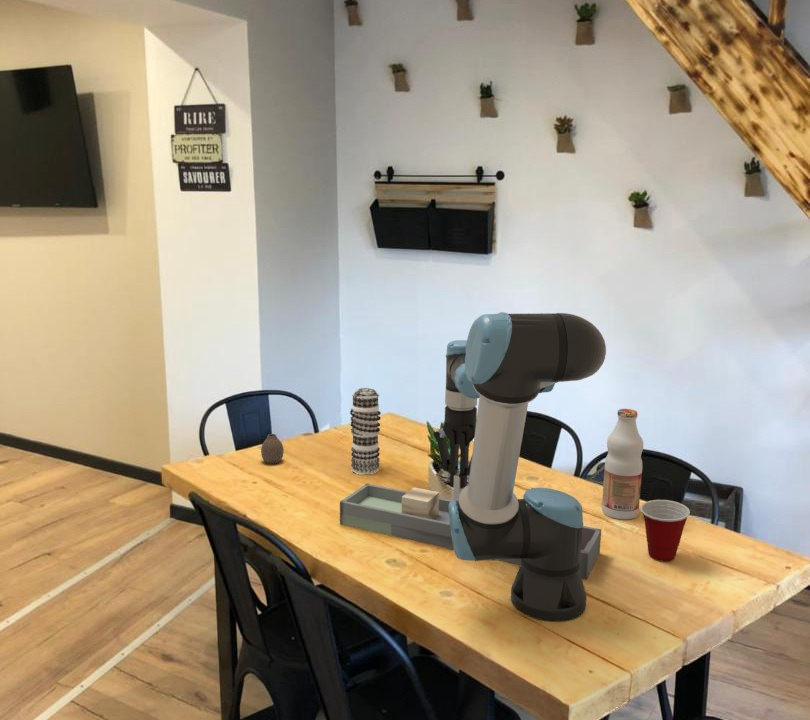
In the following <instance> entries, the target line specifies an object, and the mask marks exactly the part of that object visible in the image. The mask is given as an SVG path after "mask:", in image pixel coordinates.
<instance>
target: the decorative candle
mask: <svg viewBox="0 0 810 720" xmlns="http://www.w3.org/2000/svg"><path fill="white" fill-rule="evenodd" d="M351 396H352V405H351V406H352V407H351V408H350V412H349V414H350V415H351V417H350V426H351V429H350V430H351V431H350V432H351V435H352V444H351V445H352V447H351V449H350V451H352V452H351V454H350V455H351V459H350V462H351V465H350V466H351V472H352V471H353V472H355V473H358V474H357V475H360V474H371V475H373V474H372V473H375V472H377V471H379V472H380V449H381V448H380V447H379V445H380V444H379V441H378V440H379V435H380V432H381V428H380V426H381V423H380V422H379V421H380V420H381V416H380V415H381V414H382V413H381V411H380V410H379V407H380V405H379V397H380V394H379V393H378V392H377V391H376V390H375V389H374V388H369V387H368V388H367V387H364V388H363V387H362V388H358V389H356V390H355V392H353V393H352V395H351ZM353 472H352V473H353ZM355 473H354V474H355ZM377 473H378V472H377ZM375 474H376V473H375Z"/></svg>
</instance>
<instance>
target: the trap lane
mask: <svg viewBox="0 0 810 720" xmlns="http://www.w3.org/2000/svg"><path fill="white" fill-rule="evenodd" d="M407 492H408V491H406V490H401V489H397V488H396V489H395V488H391V487H386V486H382V485H381V486H380V485H377V484H371V483H365V484H364V485H362V486H361V487H359V488H358V489H357V490H355V491H353V492H352V493H351V494H349V495H348V496H347V497H345V498H343V499H342V500H340V501H339V524H340V525H342V526H347V527H351V528H356V529H360V530H363V531H370V532H373V533H377V534H383V535H387V536H390V537H396V538H400V539H403V540H408V541H413V542H416V543H417V542H418V543H422V544H425V545H432V546H435V547H440V548H444V549H450V550H453V551H454V547H453V542H452V536H451V529H450V520H449V503H450V502H451V501H452V500H453V499H448V498H442V497H439V515H438V516H437V517H436V518H435V519H434V520H433V519H428V518H423V517H418V516H414V515H409V514H404V513H401V512H402V496H403V495H405V494H406V493H407ZM601 537H602V529H601V528H597V527H592V526H591V527H590V526H586V525H583V527H582V538H581V553H580V566H579V571H580V574H581V578H582V580H587V579H588V577H589V575H590V574H591V572H592V570H593V568H594V566H593V565H595V564H594V563H596V562H595V561H597V559H598V557H599V555H600V554H601V539H602V538H601ZM500 561H501V562H502V561H503V562H507V563H512V564H515V565H519V566H520V565H521V559H503V560H500ZM590 571H591V572H590Z"/></svg>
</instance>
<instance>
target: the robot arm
mask: <svg viewBox="0 0 810 720" xmlns="http://www.w3.org/2000/svg"><path fill="white" fill-rule="evenodd" d="M606 355H607V345H606V341H605V339H604V337H603V335H602V333H601V332H600V330H599V329H598V328H597V327H596V326H595V325H594V324H593V323H592V322H590V321H589V320H587V319H585V318H584V317H581V316H579V315H576V314H571V313H567V312H557V313H556V312H555V313H549V312H548V313H546V312H545V313H542V312H541V313H508V312H504V311H503V312H502V311H501V312H498V313H486V314H481V315H479V317H477V318H476V319H475V320H474V321H473V323H472V325H471V326H470V329H469V332H468V336H467V338H466V340H465V339H459V340H458V339H456V340H452V341H451V340H450V342H448V343H447V345H446V354H445V359H446V360H445V361H446V362H445V364H446V365H445V392H444V393H445V394H444V395H445V396H444V397H445V398H444V404H445V407H444V424H443V425H442V428H441V429H440V428H439V429H437V430H436V431H434V432H433V436H434V439H435V440H436V442H437V445H438V452H439V456H440V461H441V466H442V470H443V471H444V472H447V473H449V476H450V477H449V478H450V479H449V485H450V487H451V488H452V489H453V490H452V500H453V501H451V502H450V503H449V520H450V529H451V536H452V542H453V547H454V550H453V552H454V554H455V556H456V557H457V558H458V559H459V560H461V561H472V562H473V561H474V562H479V561H496V560H497V561H501V560H503V559H521V565H519V568H518V570H517V572H516V575H515V577H514V580H513V583H512V585H511V588H510V601H511V604H512V605H513V607H514V608H515V609H516V610H517V611H519V612H520V613H522V614H523V615H524V616H527V617H530V618H533V619H535V620H540V621H546V622H566V621H571V620H574V619H576V618H579V617H580V616H582V615H583V614H584V613H585V611H586V609H587V593H586V590H585V585H584V583H583V579H582V578H581V574H580V571H579V566H580V553H581V538H582V527H583V526H584V522H583V521H584V520H583V519H584V518H583V517H584V515H583V513H584V512H583V506H582V504H581V502H580V501H579V500H578V499H577V498H576V497H574V496H572V495H570V494H568V493H566V492H564V491H562V490H558V489H553V488H548V487H531V488H529V489H528V488H527V490H525V492H524V494H523V496H522V497H523V498H518V496H517V495H516V494H515V493H514V489H515V483H516V477H517V473H518V472H517V471H518V466H519V465H518V464H519V459H520V453H521V447H522V442H523V436H524V429H525V423H526V418H527V413H528V408H529V406H528V405H529V403H531V402H532V401H534V400H535V399H536V398H537V397H538V396H539V394H543V393H550V392H552V390H554V388H555V385H556V384H558V383H559V382H560V383H562V382H574V381H582V380H584V379H587V378H590V377H591V376H593V375H595V374H596V373H598V371H599V370H600V369H601V367H602V366H603V364H604V363H605V360H606ZM477 405H478V406H477ZM446 437H447V438H448V441H449V448H450V449H449V448H448V443H447V438H446ZM472 441H473V445H472V452H471V453H472V454H471V457H470V458H469V455H470V454H469V451H470V446H471V445H470V444H471V442H472ZM449 451H450V453H449ZM459 451H460V452H459ZM459 453H460V454H459ZM459 457H460V458H459ZM459 459H460V460H459ZM469 459H470V461H469ZM468 476H469V477H468Z"/></svg>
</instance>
